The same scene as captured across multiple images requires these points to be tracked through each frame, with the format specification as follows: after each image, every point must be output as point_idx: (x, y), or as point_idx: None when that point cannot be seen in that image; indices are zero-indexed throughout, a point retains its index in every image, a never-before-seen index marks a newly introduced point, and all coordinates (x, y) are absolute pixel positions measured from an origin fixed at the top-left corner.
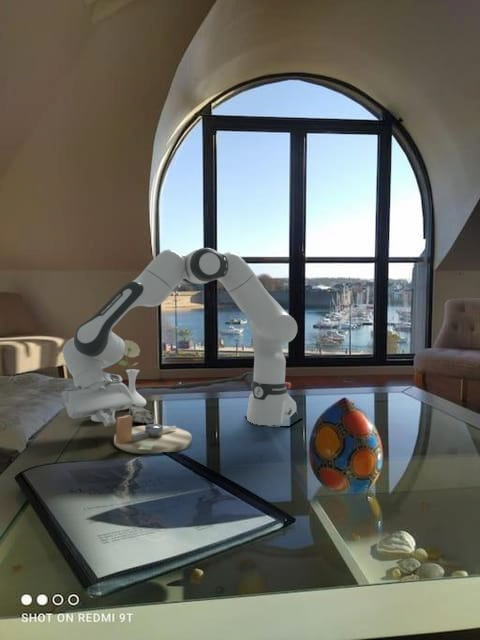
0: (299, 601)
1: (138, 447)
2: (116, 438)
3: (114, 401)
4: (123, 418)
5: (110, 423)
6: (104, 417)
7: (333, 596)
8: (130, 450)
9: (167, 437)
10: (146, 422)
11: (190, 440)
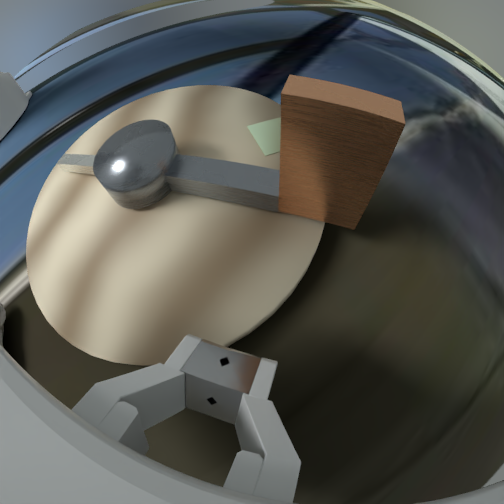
0: (424, 26)
1: None
2: (361, 213)
3: (1, 416)
4: (372, 95)
5: (245, 354)
6: (274, 409)
7: (406, 17)
8: None
9: None
10: (2, 322)
11: (152, 95)
